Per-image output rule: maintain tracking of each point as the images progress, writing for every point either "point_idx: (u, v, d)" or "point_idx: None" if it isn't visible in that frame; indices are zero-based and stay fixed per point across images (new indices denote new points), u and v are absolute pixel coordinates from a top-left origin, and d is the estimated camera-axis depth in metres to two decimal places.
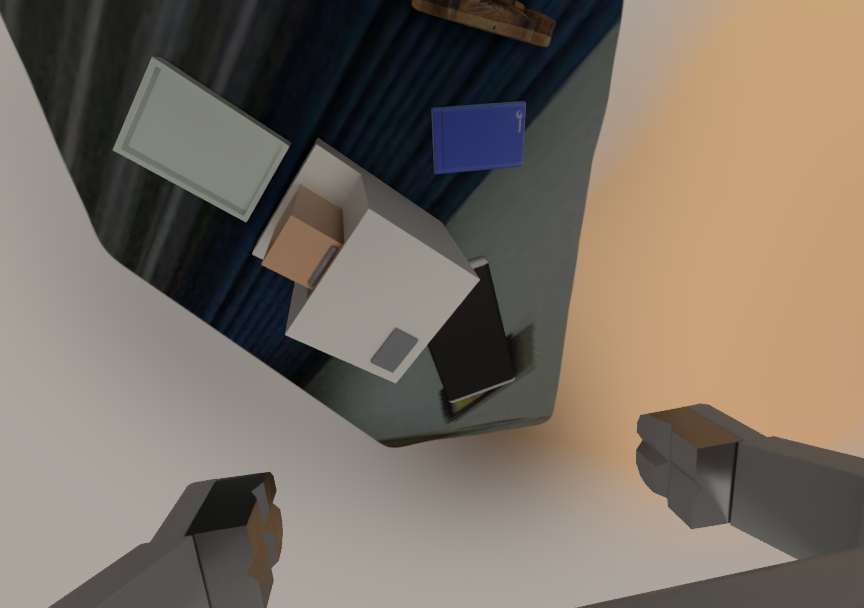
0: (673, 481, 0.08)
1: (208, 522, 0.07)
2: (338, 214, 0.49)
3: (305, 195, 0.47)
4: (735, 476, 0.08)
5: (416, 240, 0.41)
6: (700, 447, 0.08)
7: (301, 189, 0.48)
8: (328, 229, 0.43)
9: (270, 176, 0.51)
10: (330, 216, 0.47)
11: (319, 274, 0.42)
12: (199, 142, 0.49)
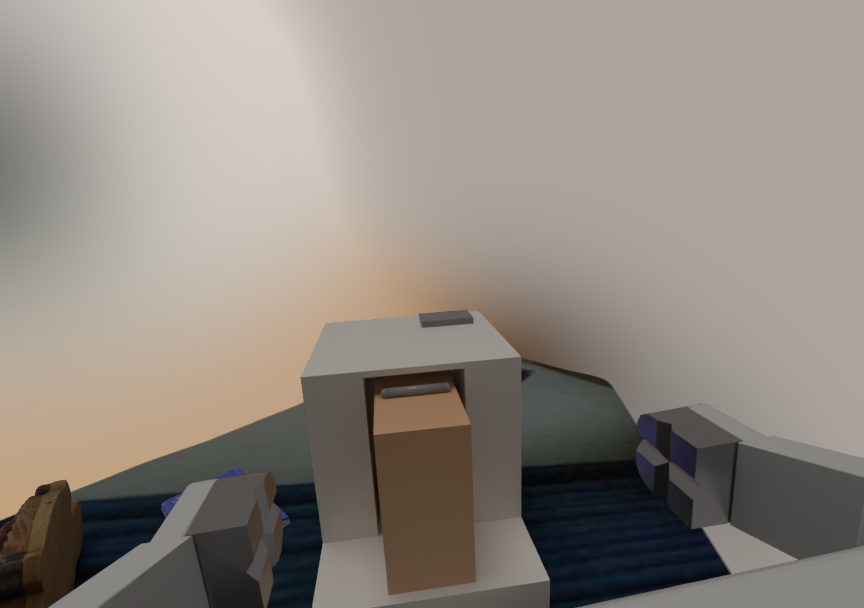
0: (673, 481, 0.08)
1: (207, 522, 0.07)
2: None
3: None
4: (735, 476, 0.08)
5: (314, 350, 0.35)
6: (700, 447, 0.08)
7: (386, 568, 0.28)
8: None
9: None
10: None
11: (425, 384, 0.30)
12: None
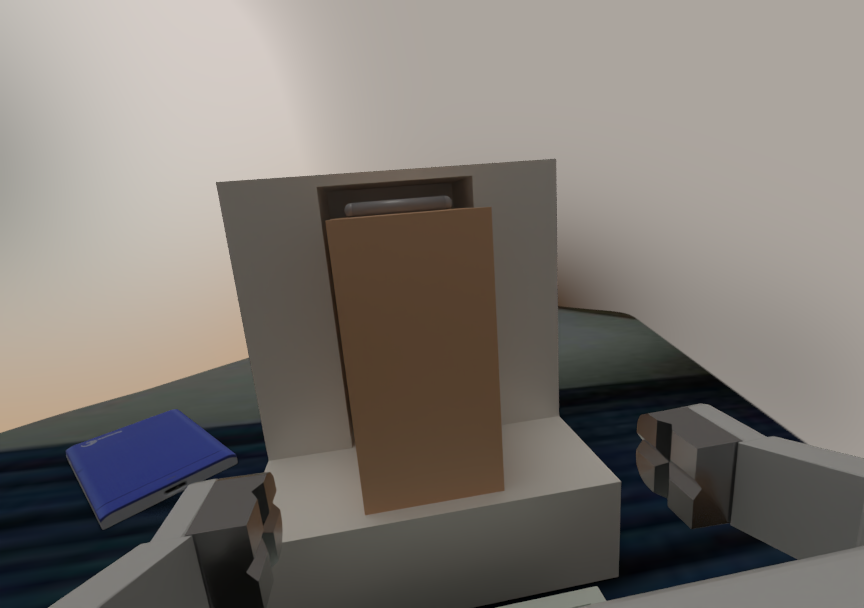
0: (673, 481, 0.08)
1: (207, 521, 0.07)
2: None
3: None
4: (735, 476, 0.08)
5: None
6: (700, 447, 0.08)
7: None
8: None
9: None
10: None
11: None
12: None
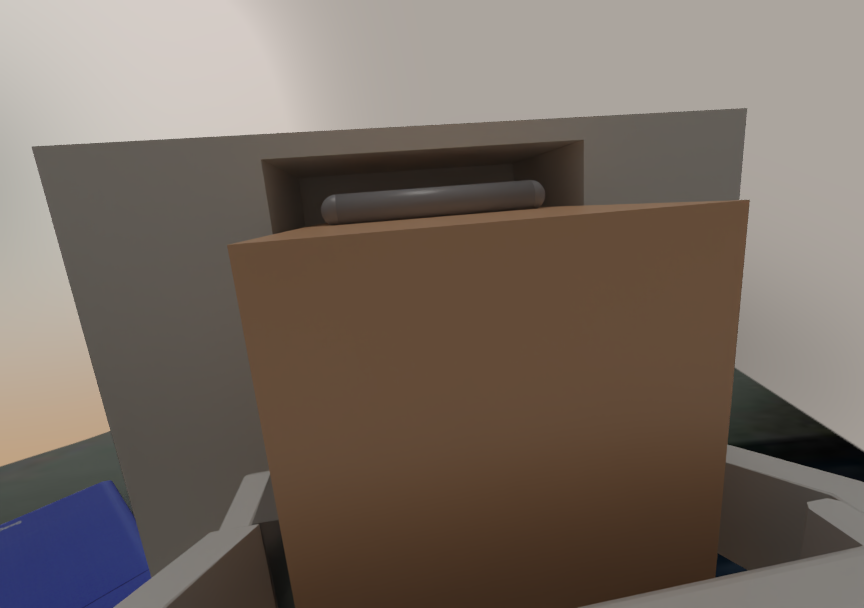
0: None
1: (272, 510, 0.07)
2: None
3: None
4: None
5: None
6: None
7: None
8: None
9: None
10: None
11: None
12: None
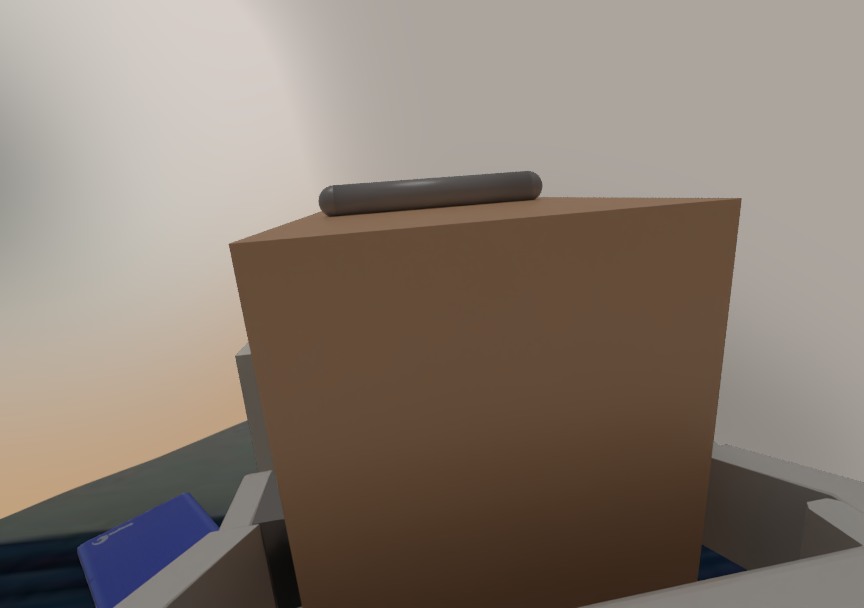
0: None
1: (271, 510, 0.07)
2: None
3: None
4: None
5: None
6: None
7: None
8: None
9: None
10: None
11: None
12: None
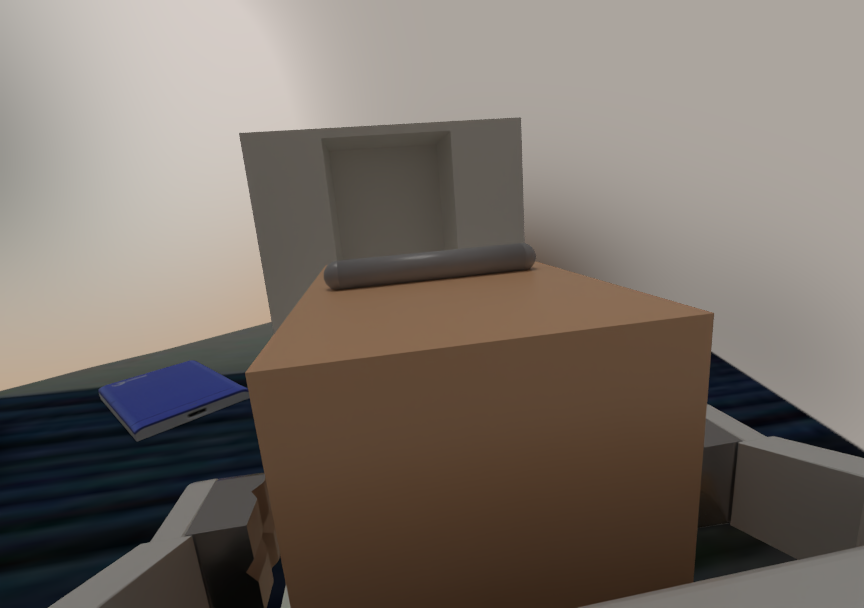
0: None
1: (208, 521, 0.07)
2: None
3: None
4: (735, 476, 0.08)
5: None
6: None
7: None
8: None
9: None
10: None
11: None
12: None
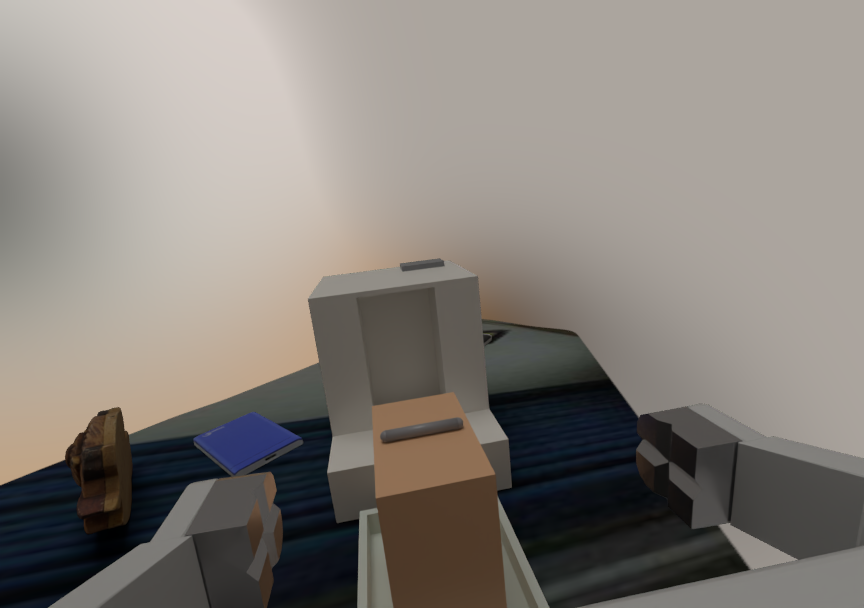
0: (673, 481, 0.08)
1: (208, 521, 0.07)
2: None
3: None
4: (735, 476, 0.08)
5: (316, 288, 0.43)
6: (700, 447, 0.08)
7: None
8: None
9: None
10: None
11: (433, 421, 0.25)
12: None
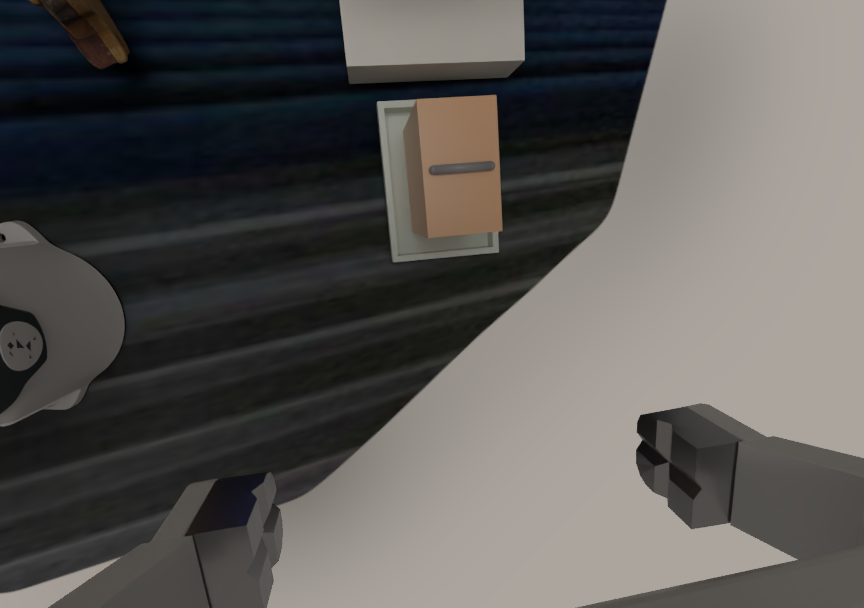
0: (673, 481, 0.08)
1: (207, 522, 0.07)
2: (410, 179, 0.40)
3: (414, 223, 0.41)
4: (735, 476, 0.08)
5: None
6: (700, 447, 0.08)
7: (414, 229, 0.42)
8: (420, 187, 0.34)
9: None
10: (414, 188, 0.38)
11: (473, 164, 0.31)
12: None
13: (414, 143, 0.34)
